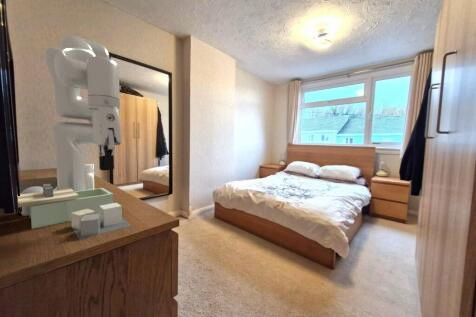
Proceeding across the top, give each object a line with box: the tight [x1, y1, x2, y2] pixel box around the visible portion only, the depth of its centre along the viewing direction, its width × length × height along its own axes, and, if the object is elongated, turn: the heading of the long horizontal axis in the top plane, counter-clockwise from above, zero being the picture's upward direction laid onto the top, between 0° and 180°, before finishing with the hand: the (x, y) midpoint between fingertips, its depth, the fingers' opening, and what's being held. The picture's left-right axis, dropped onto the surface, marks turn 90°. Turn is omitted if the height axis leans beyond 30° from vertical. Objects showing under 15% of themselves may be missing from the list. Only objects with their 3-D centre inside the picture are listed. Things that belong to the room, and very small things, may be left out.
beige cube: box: [71, 209, 95, 230], centre depth 57 cm, size 4×4×4 cm
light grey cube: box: [80, 214, 101, 237], centre depth 54 cm, size 4×4×4 cm
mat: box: [70, 217, 133, 241], centre depth 58 cm, size 12×12×1 cm
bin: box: [29, 187, 115, 230], centre depth 66 cm, size 12×20×6 cm, turn 137°
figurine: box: [84, 163, 95, 190], centre depth 79 cm, size 7×9×15 cm
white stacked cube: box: [99, 202, 123, 227], centre depth 60 cm, size 4×4×5 cm
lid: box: [17, 183, 79, 209], centre depth 61 cm, size 12×12×4 cm
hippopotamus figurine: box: [19, 185, 59, 217], centre depth 69 cm, size 8×12×9 cm, turn 139°
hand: (106, 169), depth 59 cm, fingers closed
